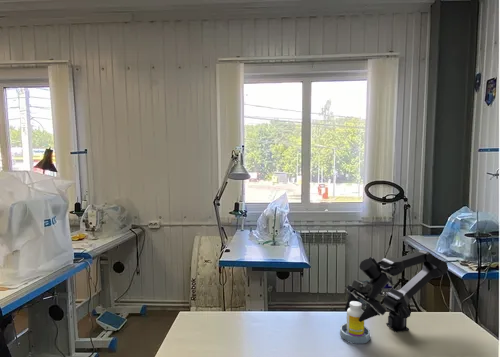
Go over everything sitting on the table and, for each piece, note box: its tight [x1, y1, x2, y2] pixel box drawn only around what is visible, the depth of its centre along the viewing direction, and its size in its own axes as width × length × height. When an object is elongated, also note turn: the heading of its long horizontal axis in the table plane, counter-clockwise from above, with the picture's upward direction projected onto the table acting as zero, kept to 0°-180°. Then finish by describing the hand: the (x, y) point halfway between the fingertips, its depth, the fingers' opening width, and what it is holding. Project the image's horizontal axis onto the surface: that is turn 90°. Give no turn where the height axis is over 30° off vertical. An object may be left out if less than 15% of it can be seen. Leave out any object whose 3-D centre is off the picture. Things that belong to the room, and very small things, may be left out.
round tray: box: [339, 322, 371, 345], centre depth 131 cm, size 11×11×2 cm
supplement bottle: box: [346, 301, 365, 337], centre depth 131 cm, size 7×7×13 cm
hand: (352, 315), depth 130 cm, fingers open, 9 cm apart
